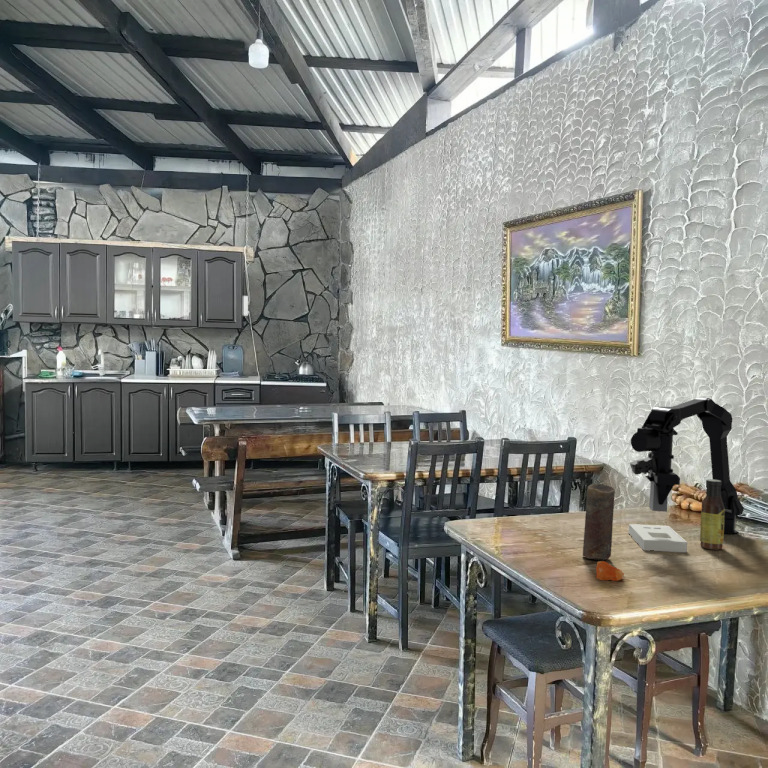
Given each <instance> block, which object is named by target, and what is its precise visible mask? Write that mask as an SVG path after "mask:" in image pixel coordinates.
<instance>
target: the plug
mask: <svg viewBox="0 0 768 768" xmlns="http://www.w3.org/2000/svg"><path fill="white" fill-rule="evenodd" d="M649 485H650V487H649V488H650V489H649V507H648V508H649V510H652V512H653V511H654V512H665V513H667V512H668V497H669V495H668V496H667V498H666V500H665V501H664V503H663V505H660V504H659V503H658V494H657V486H656V485H655V484H654V483H653V482H652V481H651V482H650V484H649Z"/></svg>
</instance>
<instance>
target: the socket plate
mask: <svg viewBox="0 0 768 768" xmlns="http://www.w3.org/2000/svg"><path fill="white" fill-rule="evenodd" d="M627 534H628V535H629V534H630V535H631V536H632V537H633V538H632V537H631V536H630V535H629V536H630V537H631V538H632V539H633V540H634V542H636V544H637V543H638V544H639V545H638V544H637V545H638V546H639V547H640V548H641V550H643V551H650V550H654V552H671V553H687V552H688V541H687V540H685V539H684V538H683V537H682V536H681V535H680V534H679V533H677V532H676V531H675V530H674V529H673V528H672V527H671V526H669V525H656V524H639V523H637V524H636V523H629V524H628V533H627Z"/></svg>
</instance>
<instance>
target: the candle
mask: <svg viewBox="0 0 768 768" xmlns="http://www.w3.org/2000/svg"><path fill="white" fill-rule="evenodd" d="M586 489H587V490H586V504H585V516H584V517H585V519H584V522H585V523H584V530H583V531H584V533H583V544H582V556H583V557H585V558H586V559H590V560H595V561H605V560H608V559H609V558H611V556H612V542H613V525H614V524H613V523H614V522H613V520H614V512H615V511H614V508H615V507H614V506H615V493H616V490H615V488H614V487H613V486H611V485H608V484H601V483H597V484H596V483H591V484H590V485H588V486H587V488H586Z"/></svg>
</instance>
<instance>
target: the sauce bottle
mask: <svg viewBox="0 0 768 768" xmlns="http://www.w3.org/2000/svg"><path fill="white" fill-rule="evenodd" d="M705 482H706V483H705V485H706V489H707V492H706V491H705V492H706V493H705V497H704V498H703V499H702V501H701V511H700V530H699V532H700V534H699V535H700V536H699V538H700V539H699V541H700V546H701V547H702V548H704V549H706V550H712V551H713V550H715V551H719V550H722V549H723V546H724V545H723V544H724V538H725V537H724V536H725V535H724V534H725V533H724V513H725V508H724V504H723V501H722V498H721V494H720V490H721V481H720V480H714V479H711V478H710V479H706V480H705Z"/></svg>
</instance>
